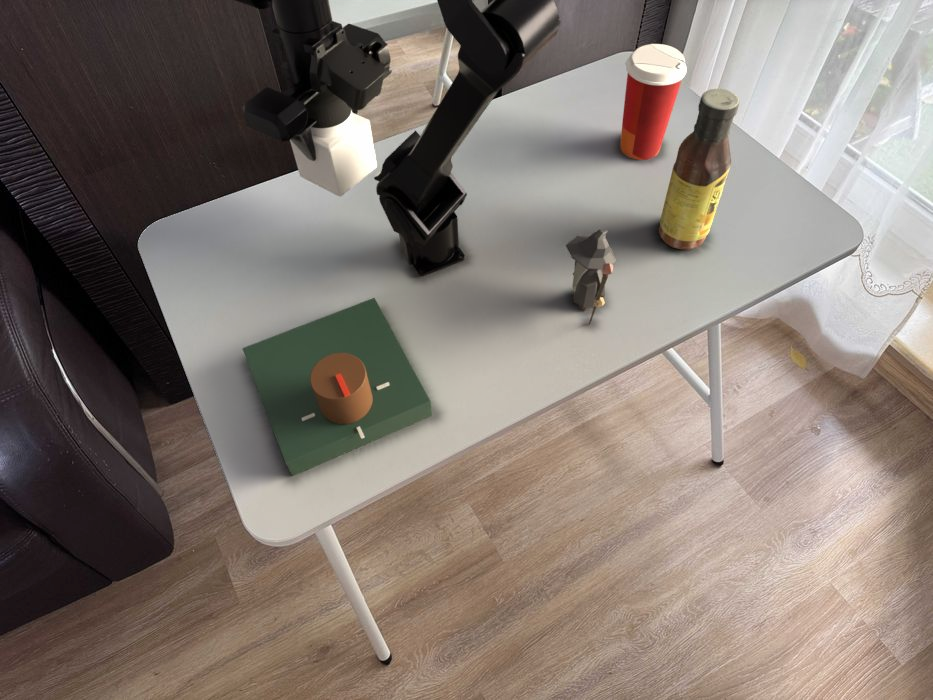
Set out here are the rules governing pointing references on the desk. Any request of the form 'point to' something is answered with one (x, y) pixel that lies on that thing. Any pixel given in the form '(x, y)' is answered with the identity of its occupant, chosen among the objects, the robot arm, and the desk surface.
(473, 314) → the desk surface
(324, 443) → the rotary dial base
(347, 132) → the medicine bottle
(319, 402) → the rotary dial knob
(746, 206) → the desk surface
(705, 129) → the sauce bottle
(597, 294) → the wizard figurine
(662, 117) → the paper cup
